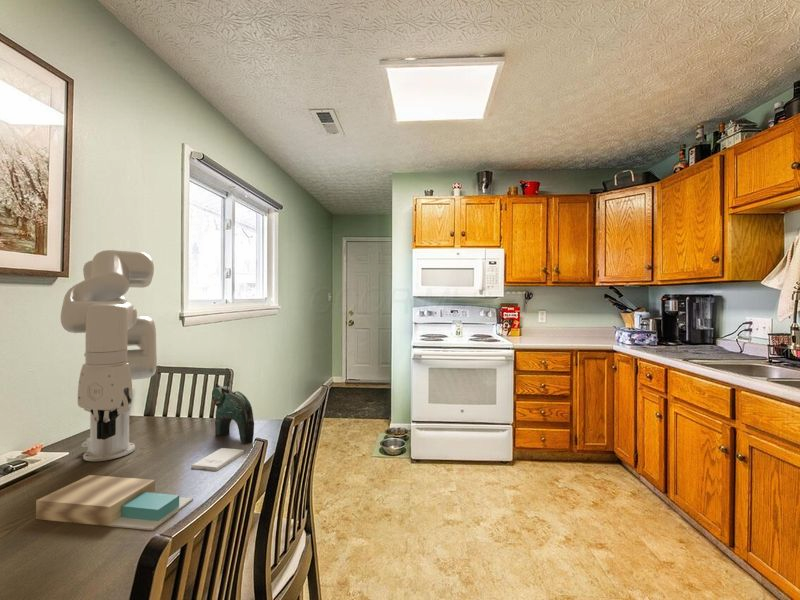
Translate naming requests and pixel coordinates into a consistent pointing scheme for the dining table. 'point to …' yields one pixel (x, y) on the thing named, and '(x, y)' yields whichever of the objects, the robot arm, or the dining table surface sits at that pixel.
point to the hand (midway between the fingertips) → (106, 437)
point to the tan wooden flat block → (92, 499)
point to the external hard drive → (218, 459)
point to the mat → (148, 523)
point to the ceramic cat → (233, 413)
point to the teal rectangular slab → (150, 506)
